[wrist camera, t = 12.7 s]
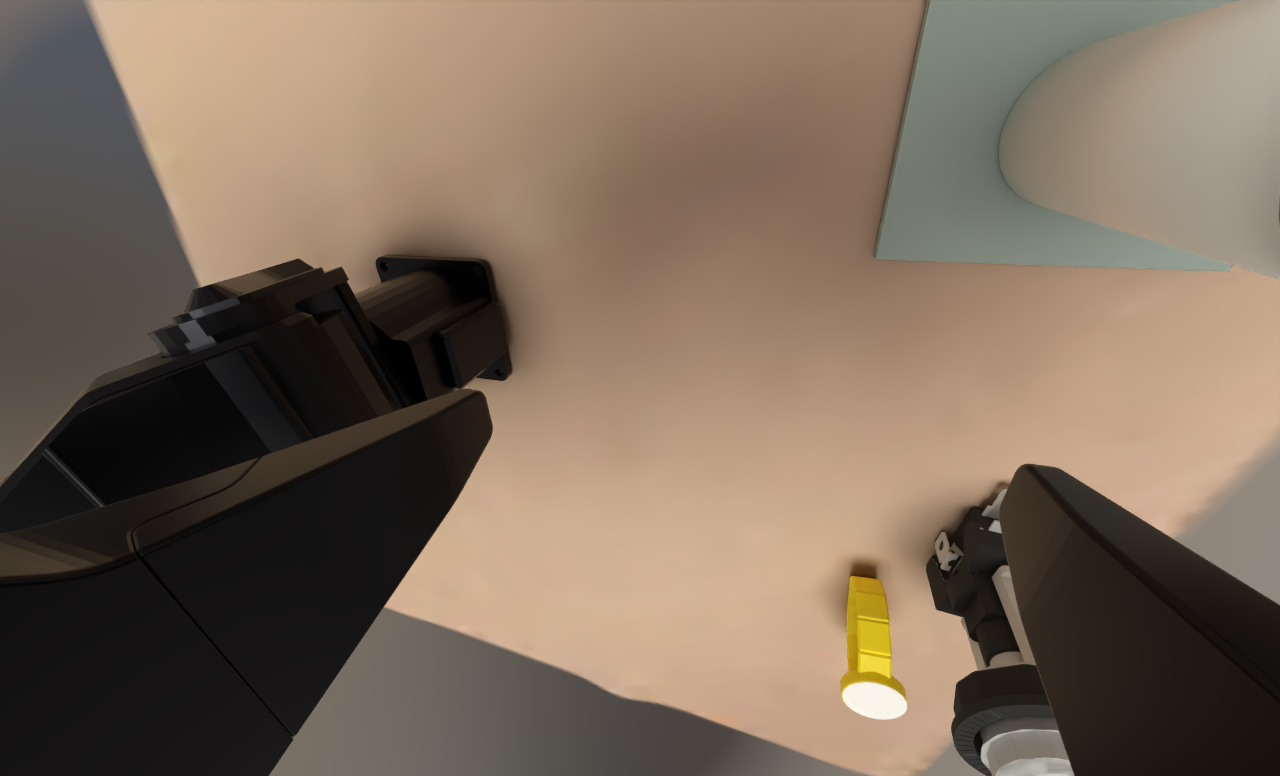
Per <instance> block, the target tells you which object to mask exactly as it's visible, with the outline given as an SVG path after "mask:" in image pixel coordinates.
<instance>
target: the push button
mask: <svg viewBox="0 0 1280 776" xmlns="http://www.w3.org/2000/svg"><path fill="white" fill-rule="evenodd" d="M1006 491H1007V489H1002V491H1001V492H1000V494H999V495H998V497H997V498H996V500H995V501H994V503H993V504H992V506H989V505H987V507H986V508H985V510H980V509H976V508H971V509H970V511H969V513H968V514H967V516H966V517H965V519H964V521H963V522H962V524H961V525H960V527H959V529H958V530H957V532H956V533H955V535H954V537H953V538H952V540H951V541H950V543H949V541H948V538H947V535H946V533H945V532H941V534H940V536H939V537H938V539H937V541H936V542H935V549H936V553H937V556H938V559H937V558H933V557H932V558H931V559H930V560H929V562H928V564H927V567H926V572H927V576H928V580H929V584H930V588H931V591H932V595H933V599H934V603H935V607H936V609H937V610H939V611H943V612H946V613H950V614H953V615H957V616H960V617H962V619H961V622H962V625H963V628H964V629H966V632H967V635H968V639H969V642H970V645H971V648H972V652H973V655H974V658H975V662H976V665H977V668H978V671H975V672H972V673H971V674H969V675H968V676H966V677H965V678H963V679H962V680H960V681H959V682H957V684H956V690H955V699H954V712H955V718H954V719H953V722H952V726H951V731H952V736H953V740H954V744H955V747H956V749H957V751H958V753H959V754H960V756H961V757H962V758H963V759H964V760H965V761H966V762H967V763H968V764H969V765H971V766H972V767H973V768H975V769H976V770H978V771H980V772H981V773H983V774H985V775H986V776H1074V773H1073V771H1072V768H1071V765H1070V762H1069V759H1068V756H1067V753H1066V750H1065V747H1064V744H1063V742H1062V739H1061V736H1060V733H1059V730H1058V727H1057V724H1056V721H1055V718H1054V715H1053V713H1052V710H1051V707H1050V704H1049V701H1048V698H1047V695H1046V692H1045V689H1044V686H1043V684H1042V681H1041V678H1040V675H1039V672H1038V669H1037V666H1036V663H1035V660H1034V657H1033V655H1032V652H1031V649H1030V646H1029V643H1028V640H1027V637H1026V634H1025V631H1024V628H1023V625H1022V622H1021V618H1020V615H1019V611H1018V607H1017V603H1016V598H1015V593H1014V589H1013V584H1012V579H1011V575H1010V570H1009V565H1008V560H1007V556H1006V551H1005V546H1004V541H1003V537H1002V532H1001V527H1000V522H999V508H1000V505H1001V502H1002V500H1003V498H1004V496H1005V493H1006ZM942 541H943V543H944V546H943V549H942V551H941V548H940V545H941V542H942Z"/></svg>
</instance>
